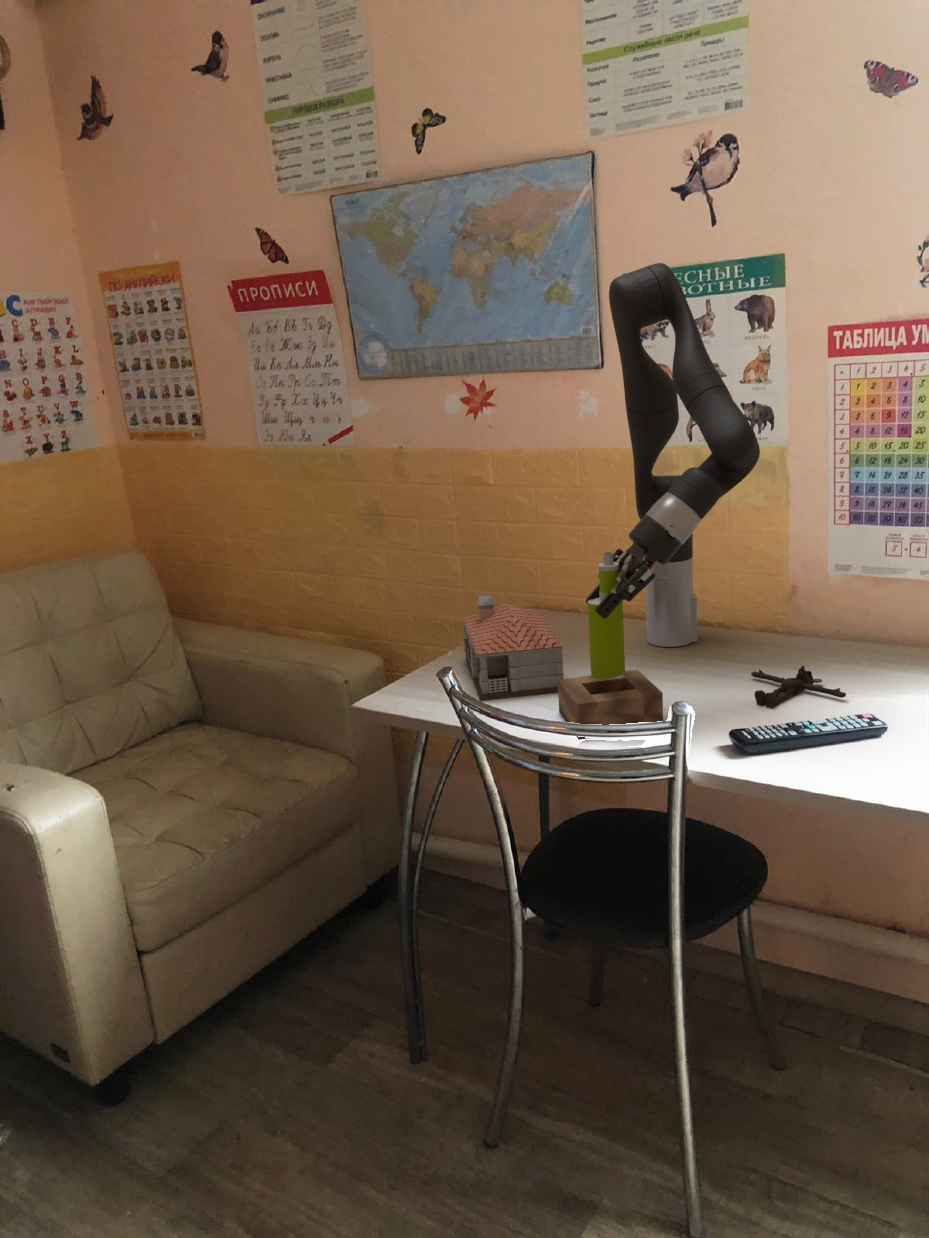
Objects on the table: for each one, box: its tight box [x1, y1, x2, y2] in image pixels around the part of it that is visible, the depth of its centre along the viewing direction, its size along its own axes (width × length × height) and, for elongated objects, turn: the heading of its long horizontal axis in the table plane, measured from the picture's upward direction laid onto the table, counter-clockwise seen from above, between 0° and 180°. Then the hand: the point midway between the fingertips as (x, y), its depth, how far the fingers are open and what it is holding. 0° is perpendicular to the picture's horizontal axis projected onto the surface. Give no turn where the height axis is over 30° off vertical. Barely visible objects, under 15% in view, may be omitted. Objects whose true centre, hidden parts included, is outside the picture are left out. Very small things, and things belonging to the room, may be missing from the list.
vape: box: [587, 551, 626, 680], centre depth 165 cm, size 4×6×20 cm, turn 128°
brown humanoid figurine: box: [750, 665, 847, 709], centre depth 175 cm, size 18×4×14 cm
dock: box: [557, 669, 664, 741], centre depth 169 cm, size 14×12×6 cm
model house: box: [462, 594, 564, 702], centre depth 193 cm, size 24×16×15 cm, turn 6°
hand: (594, 609), depth 164 cm, fingers closed on vape, 5 cm apart
